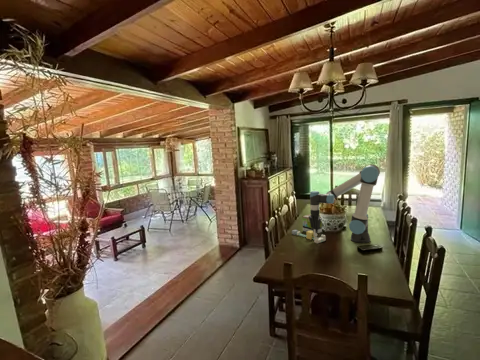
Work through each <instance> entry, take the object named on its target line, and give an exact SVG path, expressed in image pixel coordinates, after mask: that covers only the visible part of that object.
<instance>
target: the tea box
mask: <svg viewBox="0 0 480 360" xmlns="http://www.w3.org/2000/svg"><path fill="white" fill-rule="evenodd" d="M309 216H311V214H305V215H303V216H302V231H303V232H305V233H306V232H307V231H310V230H311V231H313V228H311V224H310V220H309ZM320 218H322V216H320ZM322 220H323V219H322ZM322 220H321V224H320V229H318V234H320V233H322V232H323V229H322V224H323V223H322Z"/></svg>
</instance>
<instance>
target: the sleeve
mask: <svg viewBox="0 0 480 360" xmlns="http://www.w3.org/2000/svg"><path fill="white" fill-rule="evenodd" d="M305 235H306V236H307V238H306V239H307V240H310V241H311V240H312V237H314V232H313V231H311V230H310V231H307V232H306V231H305ZM312 241H313V240H312Z"/></svg>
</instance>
